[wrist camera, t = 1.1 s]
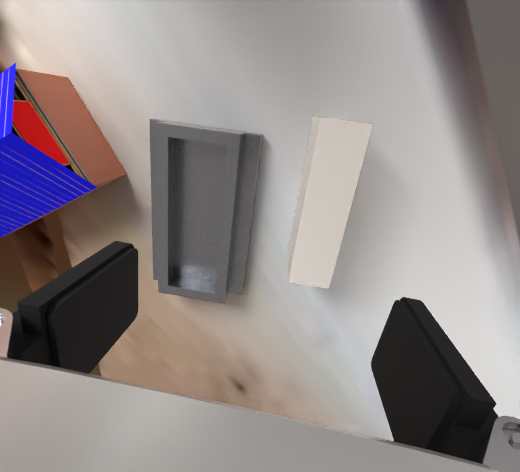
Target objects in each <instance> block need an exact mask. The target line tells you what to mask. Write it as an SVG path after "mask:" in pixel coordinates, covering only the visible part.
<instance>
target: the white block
mask: <svg viewBox="0 0 520 472" xmlns="http://www.w3.org/2000/svg"><path fill="white" fill-rule="evenodd" d="M372 127H373V124H369V123H362V122H355V121H348V120H341V119H334V118H327V117H317V116H313V118H312V124H311V129H310V134H309V140H308V145H307V150H306V156H305V161H304V167H303V172H302V177H301V183H300V188H299V193H298V199H297V204H296V209H295V215H294V220H293V225H292V231H291V236H290V241H289V264H288V282H290V283H296V284H302V285H308V286H314V287H320V288H326V289H329V287H330V284H331V280H332V276H333V272H334V269H335V265H336V261H337V258H338V254H339V250H340V246H341V243H342V239H343V235H344V231H345V228H346V224H347V220H348V216H349V213H350V209H351V205H352V201H353V198H354V194H355V190H356V187H357V183H358V179H359V175H360V172H361V168H362V164H363V160H364V157H365V153H366V149H367V145H368V142H369V138H370V134H371V131H372Z"/></svg>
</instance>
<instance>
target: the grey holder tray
mask: <svg viewBox="0 0 520 472" xmlns="http://www.w3.org/2000/svg"><path fill="white" fill-rule="evenodd" d="M262 136H263V135H262V134H255V133H248V132H241V131H234V130H228V129H221V128H214V127H207V126H200V125H193V124H186V123H179V122H172V121H165V120H158V119H150V151H151V194H152V236H153V279H154V280H158V283H159V292H161V293H166V294H172V295H178V296H184V297H190V298H196V299H202V300H207V301H213V302H219V303H225V300H226V297H227V294H228V292H231V293H237V294H242V292H243V288H244V280H245V272H246V264H247V256H248V248H249V240H250V232H251V224H252V216H253V208H254V200H255V192H256V184H257V176H258V168H259V160H260V152H261V144H262Z"/></svg>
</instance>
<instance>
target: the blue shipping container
mask: <svg viewBox="0 0 520 472" xmlns="http://www.w3.org/2000/svg"><path fill="white" fill-rule="evenodd" d="M15 67H16V63H15V64H14V65H12V66H11V67H9V68H8V69H7V70H5V71H4V72H3V73H1V74H0V238H1V237H3V236H5V235H7V234H10V233H12V232H15V231H17V230H19V229H21V228H23V227H25V226H26V225H28V224H30V223H32V222H34V221H36V220H38V219H40V218H42V217H44V216H46V215H48V214H50V213H52V212H54V211H56V210H58V209H60V208H61V207H63V206H65V205H67V204H69V203H71V202H73V201H75V200H77V199H79V198H81V197H83V196H85V195H87V194H89V193H91V192H93V191H95V190H96V189H98V188H100V187H102V186H104V185H106V184H108V183H110V182H112V181H114V180H116V179H118V178H120V177H122V176H124V175H126V174H127V173H126V171H125V170H124V168H123V167H122V165H121V163H120V162H119V160H118V158H117V157H116V155H115V154H114V152H113V150H112V149H111V147H110V145H109V144H108V142H107V140H106V139H105V137H104V136H103V134H102V132H101V131H100V129H99V127H98V126H97V124H96V122H95V121H94V119H93V118H92V116H91V114H90V113H89V111H88V109H87V108H86V106H85V104H84V103H83V101H82V100H81V98H80V96H79V95H78V93H77V91H76V90H75V88H74V87H73V85H72V83H71V82H70V80H69V78H67V77H61V76H55V75H50V74H44V73H38V72H32V71H26V70H20V69H15ZM34 107H35V108H36V109H35V108H34ZM36 110H37V111H38V112H37V111H36ZM38 113H39V114H40V115H39V114H38ZM40 116H41V117H42V118H41V117H40ZM42 119H43V120H44V121H43V120H42ZM12 122H13V124H14V125H15V126H14V125H13V124H12ZM44 122H45V123H46V124H45V123H44ZM46 125H47V126H48V127H47V126H46ZM15 127H16V128H17V129H16V128H15ZM48 128H49V129H50V130H49V129H48ZM17 130H18V131H19V132H20V133H19V132H18V131H17ZM11 131H13V132H14V134H13V133H11ZM50 131H51V132H52V133H51V132H50ZM20 134H21V135H22V136H21V135H20ZM52 134H53V135H54V136H53V135H52ZM22 137H23V138H24V139H25V141H24V139H23V138H22ZM54 137H55V138H56V139H57V141H58V142H59V144H60V145H61V147H62V148H63V150H64V151H65V153H66V154H67V156H68V157H69V159H70V160H71V161H70V160H69V159H68V157H67V156H66V154H65V153H64V151H63V150H62V148H61V147H60V145H59V144H58V142H57V141H56V139H55V138H54ZM71 162H72V163H73V164H72V163H71ZM65 165H66V166H68V165H70V166H71V167H72V169H73V170H74V172H75V173H74V172H73V171H71V170H69V169H68V168H66V166H65ZM73 165H74V166H75V167H74V166H73ZM75 168H76V169H77V170H76V169H75ZM77 171H78V172H79V173H78V172H77ZM79 174H80V175H81V176H80V175H79Z"/></svg>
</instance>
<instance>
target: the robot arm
mask: <svg viewBox="0 0 520 472" xmlns="http://www.w3.org/2000/svg"><path fill="white" fill-rule="evenodd" d="M18 308H19V310H17V311H16V312H14V313H11V312H9V311H8V310H6V309H2V308H0V472H520V419H517V418H514V417H509V416H502V417H498V415H497V414H496V413H495V411H494V410H493V408H494V407H495V405H496V402H495V401H494V400H493V398H492V397H491V396H490V394H489V393H488V391H487V390H486V389H485V387H484V386H483V385H482V383H481V382H480V380H479V379H478V378H477V376H476V375H475V374H474V372H473V371H472V369H471V368H470V367H469V365H468V364H467V363H466V361H465V360H464V358H463V357H462V356H461V354H460V353H459V352H458V350H457V349H456V347H455V346H454V345H453V343H452V342H451V341H450V339H449V338H448V336H447V335H446V334H445V332H444V331H443V330H442V328H441V327H440V325H439V324H438V323H437V321H436V320H435V319H434V317H433V316H432V314H431V313H430V312H429V310H428V309H427V308H426V306H425V305H424V303H423V302H422V301H420V300H416V299H410V298H405V297H403V298H401V299H400V301H399V300H396V301H395V302H394V304H393V307H392V309H391V312H390V314H389V317H388V319H387V322H386V324H385V327H384V330H383V332H382V335H381V337H380V340H379V342H378V345H377V347H376V350H375V352H374V355H373V358H372V362H371V368H372V372H373V375H374V378H375V381H376V384H377V388H378V391H379V394H380V397H381V400H382V403H383V407H384V410H385V413H386V416H387V419H388V423H389V426H390V429H391V432H392V435H393V438H394V442H393V441H389V440H385V439H381V438H377V437H372V436H368V435H363V434H359V433H355V432H350V431H346V430H341V429H337V428H333V427H328V426H324V425H320V424H315V423H311V422H306V421H302V420H298V419H293V418H289V417H284V416H280V415H275V414H271V413H266V412H262V411H257V410H253V409H248V408H244V407H239V406H235V405H230V404H226V403H221V402H217V401H212V400H208V399H203V398H199V397H194V396H190V395H185V394H181V393H176V392H171V391H167V390H162V389H157V388H153V387H148V386H144V385H139V384H134V383H130V382H125V381H120V380H116V379H111V378H106V377H102V376H97V375H92V374H89V373H90V372H91V371H92V370H93V369H94V368H95V366H96V365H97V364H98V363H99V362H100V360H101V359H102V358H103V357H104V356H105V354H106V353H107V352H108V351H109V350H110V348H111V347H112V346H113V345H114V344H115V342H116V341H117V340H118V339H119V338H120V336H121V335H122V334H123V333H124V332H125V330H126V329H127V328H128V327H129V326H130V325H131V323H132V322H133V321H134V320H135V318H136V316H137V313H138V251H137V249H135V248H134V246H133V245H132V244H129V243H124V242H119V241H115V242H113V243H111V244H110V245H108V246H106V247H105V248H103V249H102V250H100V251H98V252H97V253H95V254H94V255H92V256H90V257H89V258H87V259H86V260H84V261H83V262H81V263H79V264H78V265H76V266H75V267H73V268H71V269H70V270H68V271H67V272H65V273H64V274H62V275H60V276H59V277H57V278H56V279H54V280H52V281H51V282H49V283H48V284H46V285H44V286H43V287H41V288H40V289H38V290H36V291H35V292H33V293H32V294H30V295H29V296H27V297H25V298H24V299H22V300H21V301H19V302H18Z"/></svg>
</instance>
